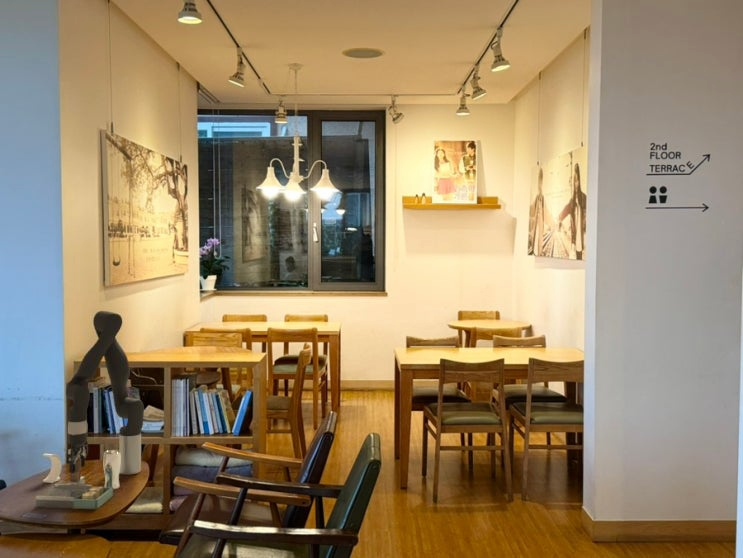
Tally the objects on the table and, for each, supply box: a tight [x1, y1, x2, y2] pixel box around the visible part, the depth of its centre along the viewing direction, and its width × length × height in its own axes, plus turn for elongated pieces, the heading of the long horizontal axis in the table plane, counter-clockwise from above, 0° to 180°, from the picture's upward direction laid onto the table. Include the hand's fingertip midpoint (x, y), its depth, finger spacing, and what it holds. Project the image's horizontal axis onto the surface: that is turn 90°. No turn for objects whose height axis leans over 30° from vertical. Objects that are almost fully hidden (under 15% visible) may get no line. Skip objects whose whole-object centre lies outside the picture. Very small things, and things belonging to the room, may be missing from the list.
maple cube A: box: [89, 485, 104, 498], centre depth 275 cm, size 4×4×4 cm
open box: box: [35, 483, 93, 510], centre depth 273 cm, size 15×15×4 cm
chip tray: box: [74, 486, 114, 511], centre depth 272 cm, size 15×9×4 cm, turn 177°
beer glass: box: [103, 449, 121, 490], centre depth 290 cm, size 7×7×15 cm
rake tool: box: [66, 457, 86, 485], centre depth 288 cm, size 11×3×12 cm, turn 178°
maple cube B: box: [82, 492, 97, 500], centre depth 269 cm, size 4×4×4 cm
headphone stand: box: [42, 453, 63, 484], centre depth 297 cm, size 5×6×12 cm
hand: (77, 469), depth 288 cm, fingers open, 8 cm apart
